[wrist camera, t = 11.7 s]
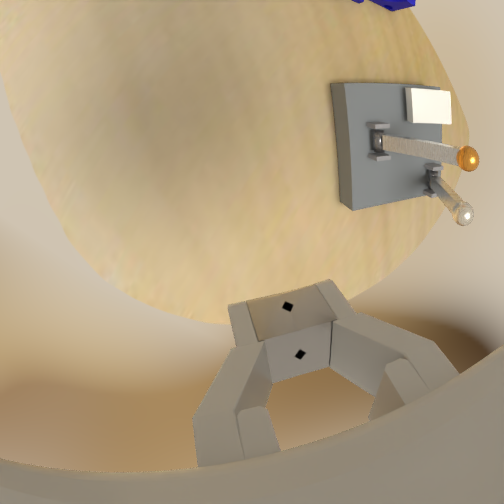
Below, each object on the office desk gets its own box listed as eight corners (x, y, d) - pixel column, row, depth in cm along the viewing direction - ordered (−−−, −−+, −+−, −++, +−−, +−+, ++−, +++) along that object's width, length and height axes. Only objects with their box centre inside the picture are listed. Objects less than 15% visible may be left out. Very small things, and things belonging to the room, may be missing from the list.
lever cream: (423, 169, 40) (458, 207, 28) (439, 169, 40) (478, 207, 27) (422, 186, 42) (455, 230, 30) (438, 187, 41) (475, 230, 29)
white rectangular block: (405, 87, 33) (411, 88, 31) (443, 90, 32) (450, 91, 31) (407, 121, 35) (413, 122, 34) (444, 122, 35) (451, 124, 33)
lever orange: (367, 130, 35) (477, 150, 24) (378, 128, 36) (481, 147, 25) (368, 152, 36) (475, 176, 25) (379, 149, 38) (480, 171, 26)
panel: (330, 83, 36) (352, 83, 30) (423, 85, 37) (449, 88, 32) (340, 201, 45) (360, 216, 39) (424, 185, 46) (447, 197, 41)
